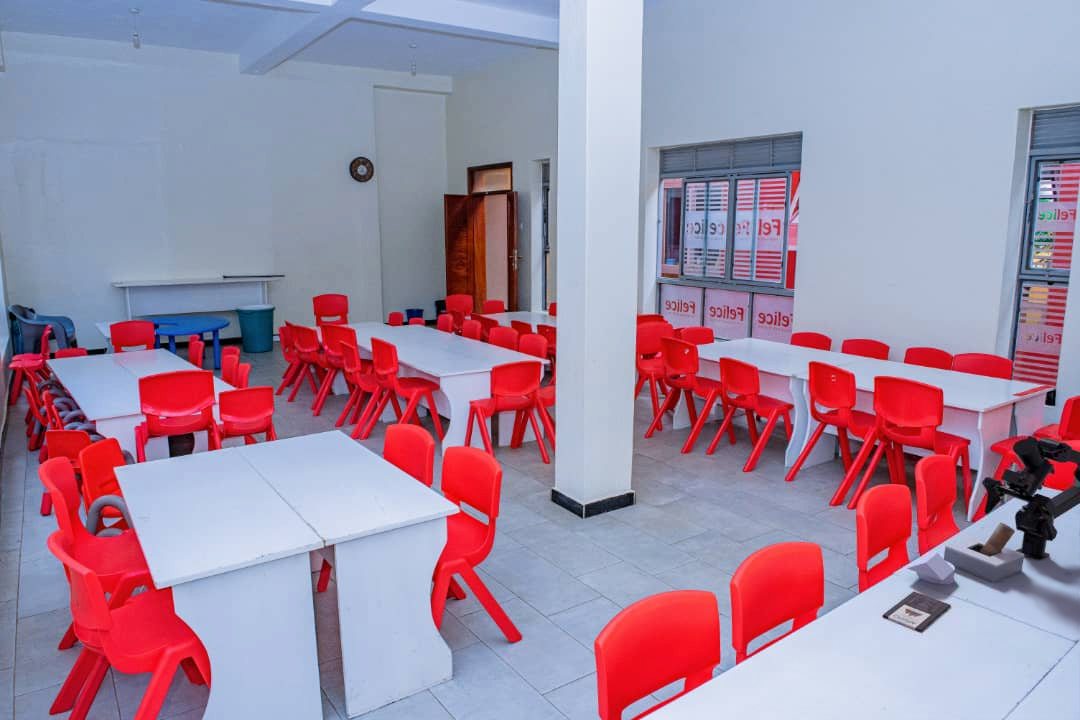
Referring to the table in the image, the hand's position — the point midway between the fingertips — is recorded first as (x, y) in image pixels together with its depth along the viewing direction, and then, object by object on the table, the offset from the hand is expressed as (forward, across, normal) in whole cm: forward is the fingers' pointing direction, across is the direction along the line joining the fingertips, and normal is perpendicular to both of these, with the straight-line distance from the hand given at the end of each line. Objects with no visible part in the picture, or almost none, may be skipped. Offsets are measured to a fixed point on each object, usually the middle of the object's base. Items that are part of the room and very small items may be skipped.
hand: (1000, 519), depth 213 cm
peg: (+12, 0, +5) cm, 13 cm away
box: (+13, 0, +6) cm, 14 cm away
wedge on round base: (+27, 0, -8) cm, 28 cm away
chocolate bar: (+40, +11, -21) cm, 47 cm away
